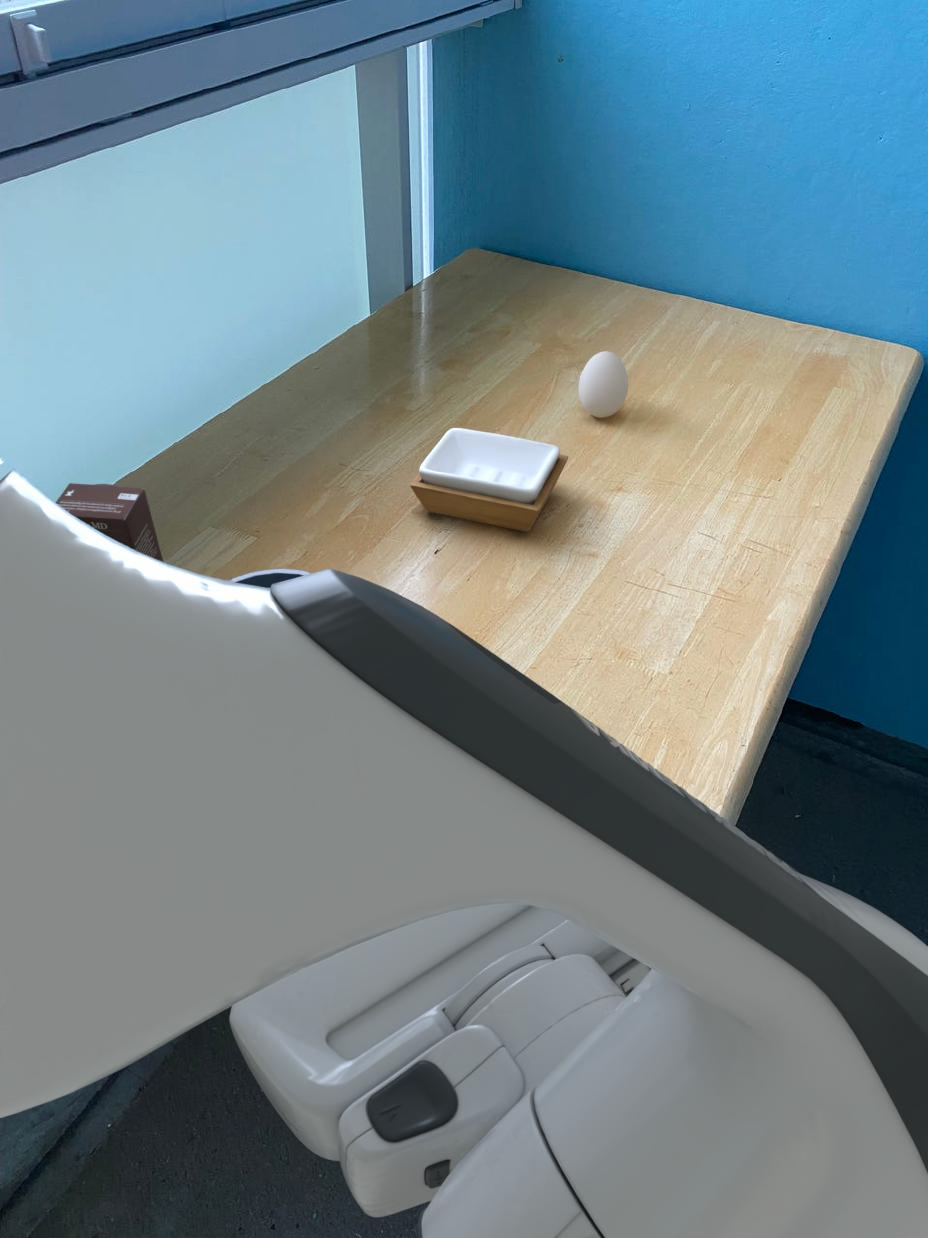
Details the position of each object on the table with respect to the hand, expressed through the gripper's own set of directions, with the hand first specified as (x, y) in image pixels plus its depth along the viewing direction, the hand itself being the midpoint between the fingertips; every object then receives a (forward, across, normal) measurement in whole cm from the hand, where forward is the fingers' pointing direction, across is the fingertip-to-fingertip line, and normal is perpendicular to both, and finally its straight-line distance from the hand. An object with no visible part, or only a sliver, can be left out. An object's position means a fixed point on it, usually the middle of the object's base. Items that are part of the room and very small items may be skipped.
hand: (372, 832), depth 47 cm
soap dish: (+34, -32, +11) cm, 48 cm away
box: (+37, +2, +11) cm, 39 cm away
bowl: (+26, -6, +11) cm, 28 cm away
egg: (+41, -52, +11) cm, 67 cm away
